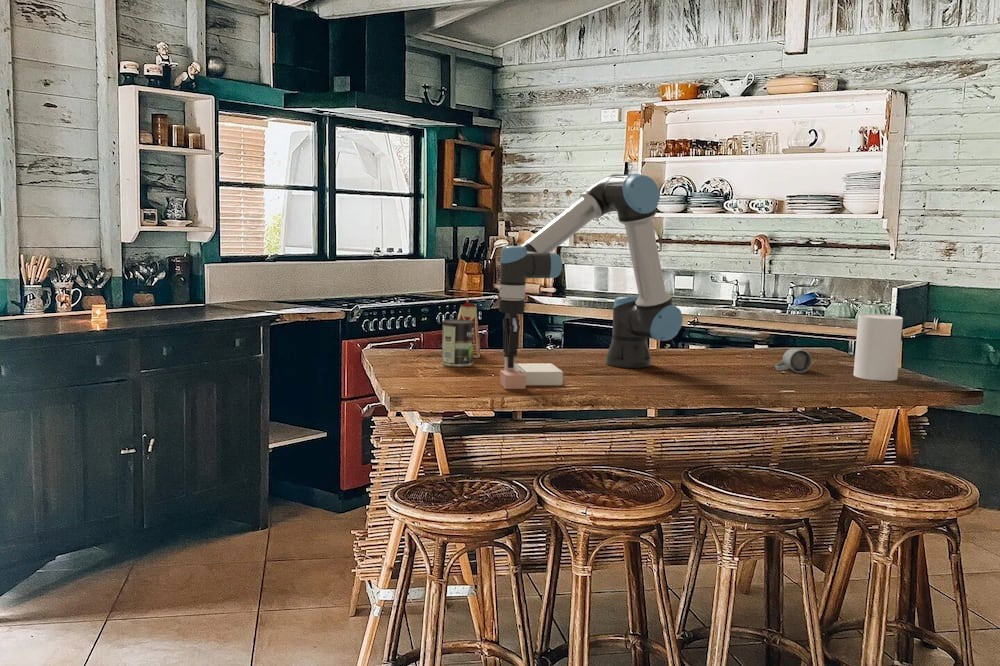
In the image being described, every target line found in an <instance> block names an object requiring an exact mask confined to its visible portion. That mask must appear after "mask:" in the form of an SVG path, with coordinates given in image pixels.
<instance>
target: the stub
mask: <svg viewBox="0 0 1000 666" xmlns="http://www.w3.org/2000/svg"><path fill="white" fill-rule="evenodd" d="M499 385H501V386H502V388H503V389H505V390H526V389H527V387H526V386H527V385H526V375H525V374H524V373H523V372H522V371H520V370H504V369H503V370H502V369H501V370H499Z"/></svg>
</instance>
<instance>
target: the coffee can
mask: <svg viewBox="0 0 1000 666" xmlns="http://www.w3.org/2000/svg"><path fill="white" fill-rule="evenodd" d="M441 322H442V339H441V340H442V347H441V348H442V349H441V364H442V365H444V366H449V367H470V366H473V364H474V362H473V360H474V359H473V328H474V322H473V321H470V320H458V318H457V319H445V320H442V321H441Z"/></svg>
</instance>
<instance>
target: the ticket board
mask: <svg viewBox="0 0 1000 666" xmlns="http://www.w3.org/2000/svg"><path fill="white" fill-rule="evenodd" d="M514 370H520V371H522V372H523V373H524V374H525V375H526V386H563V382H564V381H563V378H564V371H562V370H561V369H560V368H558V366H555V365H554V364H553V363H551V362H550V363H549V362H548V363H543V362H542V363H540V362H539V363H531V362H530V363H529V362H528V363H517V362H515V369H514Z"/></svg>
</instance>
